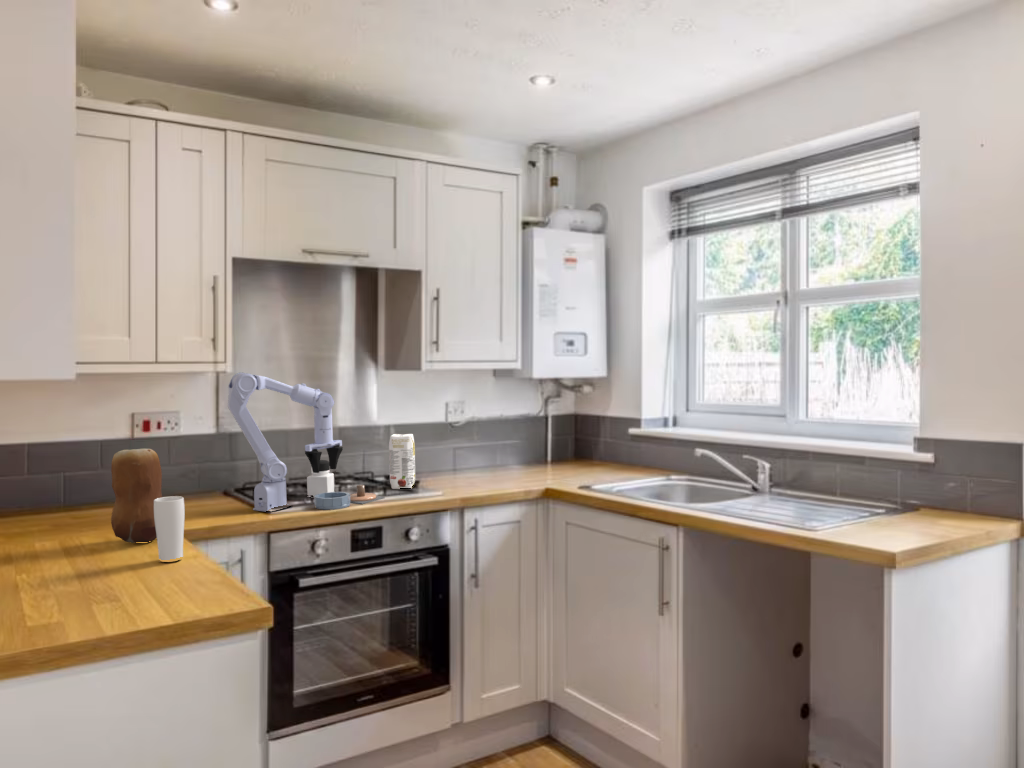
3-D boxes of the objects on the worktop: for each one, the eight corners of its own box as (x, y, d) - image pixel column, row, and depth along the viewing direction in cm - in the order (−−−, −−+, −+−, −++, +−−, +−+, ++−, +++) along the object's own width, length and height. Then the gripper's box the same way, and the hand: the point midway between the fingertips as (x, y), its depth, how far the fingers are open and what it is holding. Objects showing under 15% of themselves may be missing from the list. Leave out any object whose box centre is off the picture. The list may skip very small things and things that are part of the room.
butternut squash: (142, 534, 213) (138, 444, 212) (180, 538, 208) (177, 445, 207) (99, 547, 200) (95, 450, 199) (138, 551, 196) (134, 452, 194)
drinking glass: (191, 560, 187) (189, 498, 186) (163, 566, 182) (160, 502, 181) (178, 555, 192) (176, 494, 191) (150, 561, 187) (148, 499, 186)
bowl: (332, 511, 240) (332, 499, 240) (307, 507, 245) (307, 496, 245) (357, 504, 249) (356, 493, 249) (332, 501, 255) (331, 490, 254)
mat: (361, 504, 249) (361, 502, 249) (336, 501, 255) (336, 499, 255) (384, 498, 259) (384, 496, 259) (359, 495, 265) (359, 493, 265)
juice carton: (413, 489, 273) (412, 435, 272) (388, 489, 273) (387, 436, 272) (416, 485, 281) (415, 433, 280) (392, 485, 281) (391, 433, 280)
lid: (363, 502, 250) (362, 489, 250) (339, 499, 255) (338, 486, 255) (382, 496, 259) (382, 484, 259) (358, 494, 264) (358, 481, 263)
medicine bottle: (334, 493, 268) (333, 459, 268) (327, 497, 261) (326, 462, 260) (314, 493, 269) (313, 459, 268) (307, 497, 262) (306, 462, 261)
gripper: (316, 432, 243) (317, 475, 244) (348, 427, 256) (349, 468, 257) (299, 431, 247) (301, 473, 248) (332, 426, 259) (333, 466, 260)
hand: (324, 470), depth 252 cm, fingers open, 7 cm apart
